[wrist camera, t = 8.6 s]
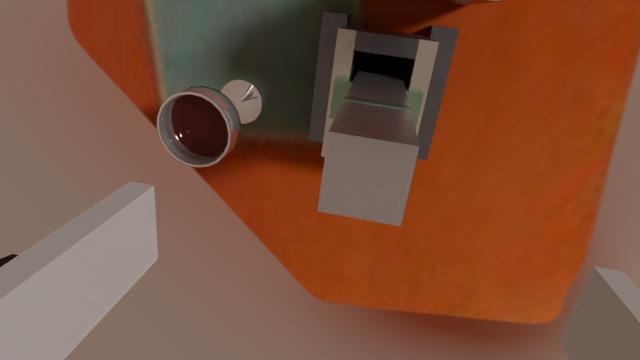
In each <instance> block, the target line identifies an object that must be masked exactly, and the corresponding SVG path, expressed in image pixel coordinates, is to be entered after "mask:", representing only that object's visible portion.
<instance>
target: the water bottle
mask: <svg viewBox="0 0 640 360" xmlns="http://www.w3.org/2000/svg"><path fill="white" fill-rule="evenodd" d="M448 1H450V2H452V3H455V4H461V5H469V4H479V3H489V2H499V1H505V0H448Z"/></svg>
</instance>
